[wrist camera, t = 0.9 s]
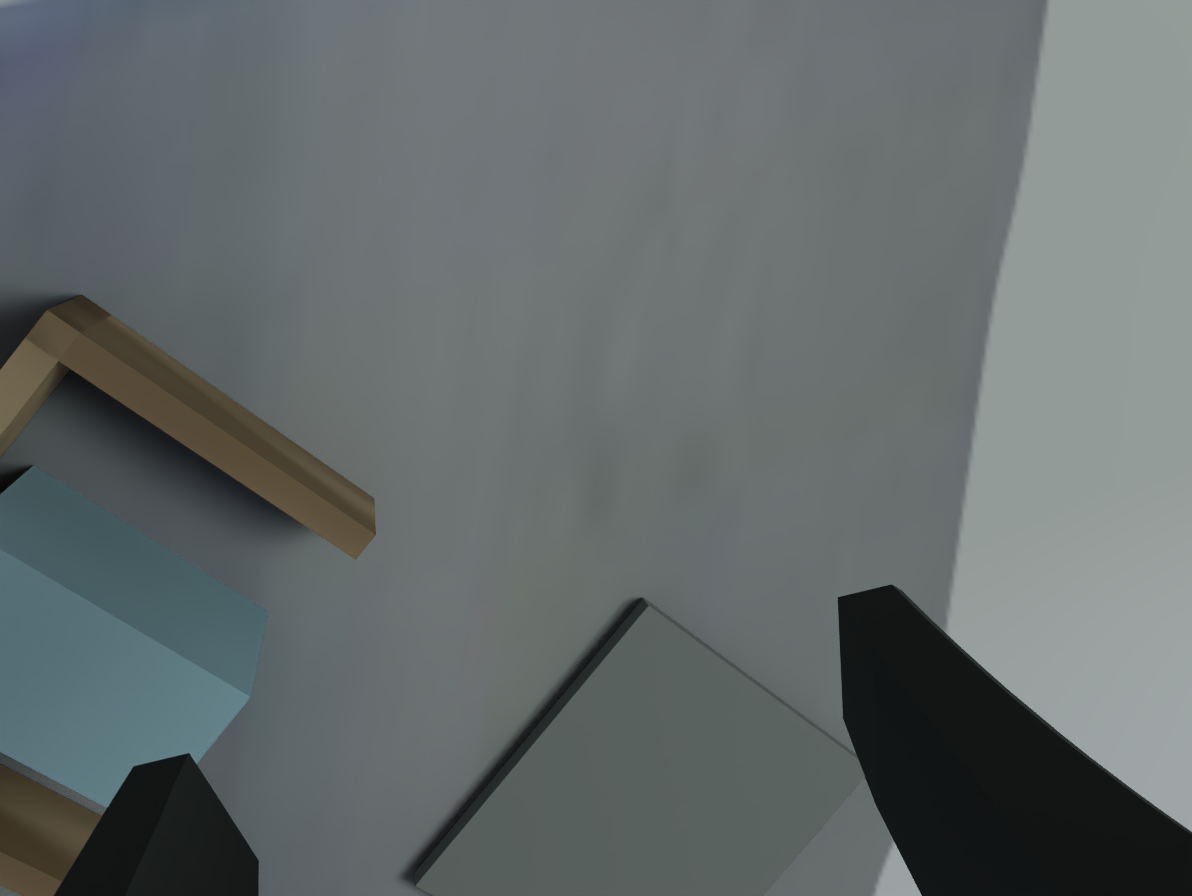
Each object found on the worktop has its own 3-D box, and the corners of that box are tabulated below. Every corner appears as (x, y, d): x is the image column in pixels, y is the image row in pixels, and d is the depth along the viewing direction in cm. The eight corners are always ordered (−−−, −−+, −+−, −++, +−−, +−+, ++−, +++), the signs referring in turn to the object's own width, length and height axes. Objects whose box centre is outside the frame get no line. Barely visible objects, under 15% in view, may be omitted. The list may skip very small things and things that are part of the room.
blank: (180, 719, 28) (145, 827, 24) (-59, 584, 26) (-151, 673, 21) (268, 610, 28) (250, 696, 23) (35, 463, 26) (-37, 526, 21)
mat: (651, 1005, 34) (656, 1019, 34) (414, 873, 31) (415, 885, 30) (863, 759, 34) (871, 769, 33) (643, 597, 30) (648, 605, 30)
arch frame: (95, 843, 29) (66, 917, 26) (-219, 684, 26) (-291, 747, 23) (374, 498, 28) (375, 534, 25) (81, 294, 25) (46, 309, 22)
